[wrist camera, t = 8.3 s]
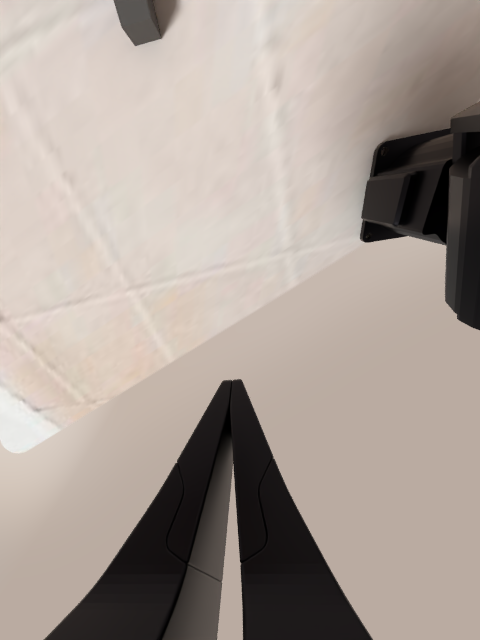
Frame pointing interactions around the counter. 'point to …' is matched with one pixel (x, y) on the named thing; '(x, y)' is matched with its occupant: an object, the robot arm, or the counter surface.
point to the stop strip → (138, 20)
